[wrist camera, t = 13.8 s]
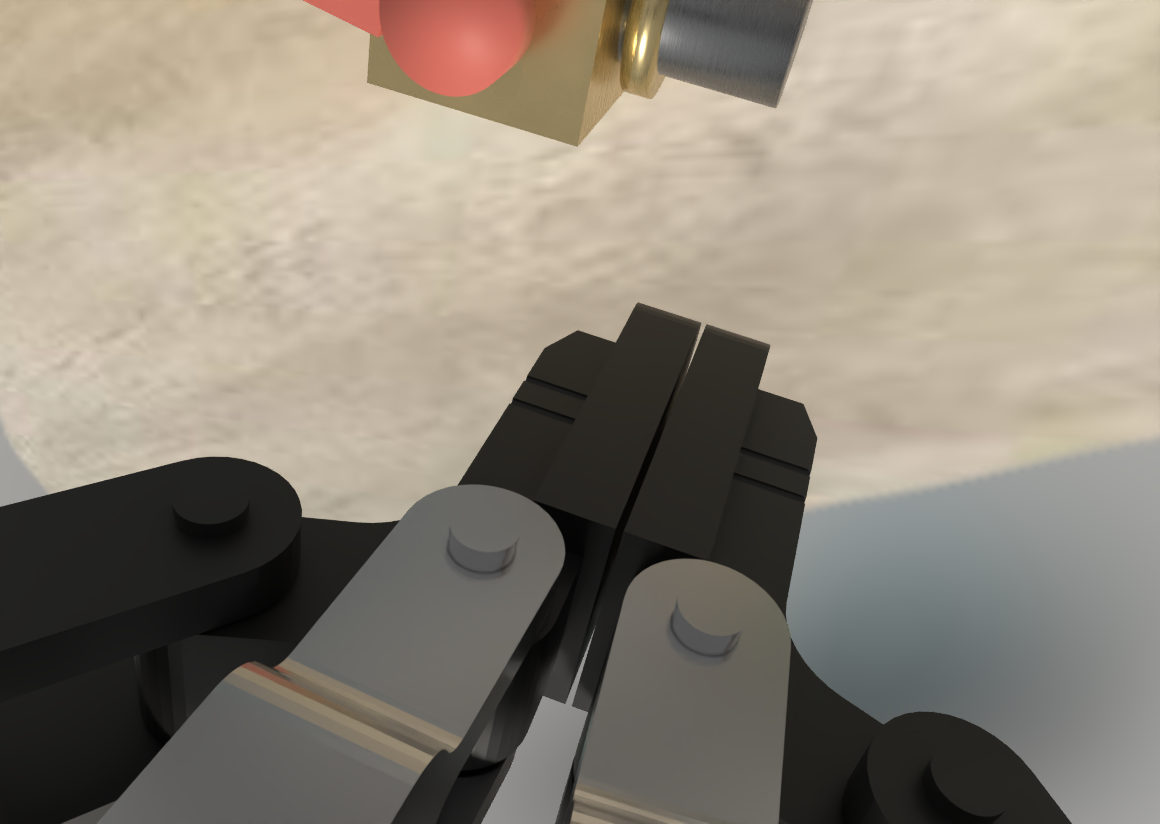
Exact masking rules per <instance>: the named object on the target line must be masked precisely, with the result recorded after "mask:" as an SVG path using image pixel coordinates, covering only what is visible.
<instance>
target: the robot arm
mask: <svg viewBox="0 0 1160 824" xmlns="http://www.w3.org/2000/svg"><path fill="white" fill-rule="evenodd" d="M700 326H701V323H700V322H697V321H694V320H691V319H688V318H685V317H682V316H679V315H676V314H672V313H669V312H666V311H663V310H660V309H657V308H654V307H651V306H648V305H644V304H641V303H637V304H636V306H635V308H634V309H633V311H632V313H631V315H630V317H629V319H628V321H627V323H626V324H625V326H624V328H623V330H622V332H621V334H620V336H619V338H618V340H617V341H616V343H615V342H612V341H609V340H606V339H603V338H600V337H597V336H593V335H590V334H587V333H584V332H581V331H576V332H574V333H572V334H570V335H568V336H566V337H565V338H563V339H561V340H559V341H557V342H555V343H553V344H551V345H550V346H548V347H546V348H544V350H543V352H542V353H541V355H540V356H539V358H538V360H537V361H536V363H535V364H534V366H533V367H532V369H531V371H530V372H529V374H528V375H527V379H526V381H524V382H523V383H522V385H521V386H520V388H519V389H518V391H517V393H516V394H515V396H514V397H513V400H512V403H511V404H509V405H508V407H507V408H506V410H505V411H504V413H503V415H502V416H501V418H500V419H499V421H498V423H497V424H496V426H495V427H494V429H493V430H492V432H491V434H490V435H489V437H488V438H487V440H486V441H485V443H484V445H483V446H482V448H481V449H480V451H479V452H478V454H477V456H476V457H475V459H474V460H473V462H472V463H471V465H470V467H469V468H468V470H467V471H466V473H465V475H464V476H463V478H462V479H461V481H460V482H459V484H458V486H452V487H448V488H444V489H441V490H437V491H435V492H433V493H431V494H429V495H426V496H425V497H423V498H422V499H420V500H419V501H418V502H416V503H415V504H414V505H413V506H412V507H411V508H410V509H409V510H408V511H407V513H406V514H405V515H404V516H403V517H402V519H401V520H398V521H392V522H383V523H358V522H347V521H337V520H326V519H316V518H305V517H302V508H301V504H300V500H299V497H298V495H297V493H296V491H295V490H294V489H293V487H292V486H291V485H290V484H289V482H288V481H287V480H285V479H284V478H283V477H282V476H281V475H279V474H278V473H276V472H275V471H273V470H271V469H269V468H268V467H265V466H263V465H260V464H258V463H255V462H251V461H247V460H244V459H238V458H231V457H203V458H195V459H189V460H184V461H180V462H176V463H172V464H168V465H164V466H160V467H156V468H152V469H148V470H144V471H140V472H136V473H132V474H128V475H125V476H121V477H117V478H113V479H109V480H105V481H101V482H97V483H93V484H89V485H85V486H81V487H77V488H73V489H69V490H65V491H61V492H57V493H53V494H49V495H46V496H42V497H38V498H34V499H30V500H26V501H22V502H18V503H14V504H10V505H6V506H3V507H0V824H481V823H482V821H483V819H484V817H485V815H486V814H487V812H488V810H489V808H490V806H491V804H492V802H493V800H494V798H495V796H496V794H497V792H498V791H499V788H500V787H501V785H502V783H503V781H504V779H505V777H506V775H507V773H508V771H509V769H510V767H511V765H512V762H513V760H514V757H515V753H516V749H517V747H518V746H519V745H520V744H521V743H522V741H523V740H524V738H525V736H526V734H527V732H528V730H529V727H530V725H531V723H532V720H533V718H534V715H535V713H536V711H537V708H538V706H539V703H540V701H541V699H542V696H545V697H548V698H551V699H553V700H556V701H559V702H561V703H564V704H565V703H566V701H567V698H568V695H569V693H570V690H571V687H572V685H573V683H574V680H575V677H576V675H577V672H578V670H579V667H580V665H581V662H582V659H583V657H584V654H585V652H586V649H587V646H588V644H589V641H590V639H591V636H592V634H593V631H594V634H593V637H592V641H591V644H590V647H589V650H588V654H587V657H586V660H585V664H584V667H583V671H582V674H581V677H580V681H579V684H578V688H577V691H576V694H575V698H574V702H573V705H572V706H573V707H576V708H578V709H581V710H584V711H587V712H588V715H587V718H586V721H585V725H584V728H583V731H582V734H581V737H580V740H579V743H578V747H577V750H576V754H575V757H574V759H573V763H572V766H571V769H570V772H569V775H568V779H567V782H566V785H565V788H564V792H563V796H562V799H561V803H560V807H559V811H558V814H557V818H556V822H555V824H1072V823H1071V822H1070V821H1069V819H1068V818H1067V817H1066V815H1065V814H1064V813H1063V811H1062V810H1061V809H1060V807H1059V806H1058V805H1057V804H1056V802H1055V801H1054V800H1053V799H1052V797H1051V796H1050V794H1049V793H1048V792H1047V790H1046V789H1045V788H1044V786H1043V785H1042V784H1041V783H1040V781H1039V780H1038V779H1037V777H1036V776H1035V775H1034V773H1033V772H1032V771H1031V770H1030V768H1028V766H1027V765H1026V764H1025V763H1024V761H1023V760H1022V759H1021V758H1020V757H1019V756H1018V755H1017V754H1015V753H1014V751H1012V750H1011V749H1010V748H1009V747H1008V746H1007V745H1006V744H1004V743H1003V742H1002V741H1000V740H999V739H998V738H996V737H995V736H993V735H992V734H990V733H989V732H987V731H985V730H984V729H982V728H980V727H979V726H976V725H974V724H972V723H970V722H968V721H965V720H963V719H960V718H957V717H954V716H951V715H947V714H941V713H935V712H914V713H907V714H903V715H901V716H898V717H895V718H893V719H892V720H890V721H889V722H887V723H886V724H884V725H883V724H881V723H880V722H879V721H877V720H876V719H874V718H873V717H871V716H870V715H868V714H867V713H865V712H864V711H862V710H860V709H859V708H858V707H856V706H855V705H853V704H852V703H850V702H849V701H847V700H846V699H844V698H843V697H841V696H840V695H839V694H837V693H836V692H834V691H833V690H832V689H831V688H829V687H828V686H827V685H826V684H825V683H824V682H823V681H822V680H820V679H819V678H818V677H817V676H816V675H815V673H814V672H813V671H812V670H811V669H810V668H809V667H808V666H807V664H806V663H805V662H804V660H803V659H802V657H801V655H800V654H799V652H798V651H797V649H796V647H795V645H794V643H793V641H792V639H791V636H790V632H789V628H788V624H787V620H786V602H787V597H788V592H789V586H790V581H791V576H792V570H793V565H794V559H795V555H796V548H797V544H798V539H799V533H800V528H801V523H802V517H803V512H804V506H805V503H804V502H805V499H806V496H807V490H808V485H809V480H810V476H809V475H810V472H811V469H812V464H813V458H814V453H815V448H816V442H817V436H816V434H815V431H814V429H813V426H812V424H811V421H810V419H809V417H808V414H807V412H806V409H805V407H804V404H802V403H799V402H796V401H793V400H790V399H787V398H784V397H781V396H777V395H774V394H771V393H768V392H765V391H762V390H759V389H758V387H759V384H760V380H761V377H762V373H763V370H764V366H765V363H766V359H767V356H768V352H769V349H770V344H766V343H763V342H760V341H757V340H754V339H751V338H748V337H745V336H742V335H738V334H735V333H732V332H729V331H726V330H723V329H720V328H717V327H714V326H710V325H706V327H705V329H704V332H703V334H702V337H701V339H700V342H699V344H698V347H697V349H696V352H695V354H694V357H693V359H692V362H691V364H690V360H691V357H692V354H693V351H694V347H695V344H696V341H697V337H698V334H699V330H700ZM689 364H690V367H689ZM688 367H689V369H688ZM687 370H688V372H687ZM686 373H687V374H686ZM595 626H596V627H595ZM594 629H595V630H594Z"/></svg>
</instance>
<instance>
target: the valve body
mask: <svg viewBox="0 0 1160 824" xmlns="http://www.w3.org/2000/svg"><path fill="white" fill-rule="evenodd" d="M812 2H813V0H534V4H535V27H534V32H533V36H532V40H531V42H530V44H529V47H528V49H527V50H526V52H525V54H524V55H523V57H522V58H521V59H520V60H519V61H518V62H517V63H516V64H515V65H514V66H513V67H512V68H511V69H510V70H508V71H507V72H506V73H505V74H504V75H502V76H501V77H500V78H499V79H498V80H496V81H495V82H494V83H493V84H491V85H490V86H489V87H487V88H486V89H484V90H482V91H480V92H478V93H475V94H472V95H468V96H462V97H452V96H444V95H441V94H437V93H434V92H432V91H429V90H427V89H425V88H424V87H422V86H420V85H419V84H417V83H416V82H415V81H413V80H412V79H411V78H410V77H409V76H408V75H406V74H405V73H404V71H403V70H402V69H401V68H400V67H399V66H398V64H397V63H396V61H395V60H394V58H393V57H392V55H391V53H390V51H389V50H388V47H387V45H386V43H385V40H384V37H383V35H382V36H380V37H376V36H374V35H372V34H370V47H369V63H368V78H367V83H370V84H373V85H377V86H380V87H383V88H387V89H390V90H393V91H396V92H400V93H403V94H406V95H410V96H413V97H416V98H419V99H423V100H426V101H429V102H433V103H436V104H439V105H442V106H446V107H449V108H452V109H456V110H459V111H462V112H465V113H469V114H472V115H475V116H479V117H482V118H485V119H488V120H492V121H495V122H498V123H502V124H505V125H508V126H511V127H515V128H518V129H521V130H525V131H528V132H531V133H534V134H538V135H541V136H544V137H548V138H551V139H554V140H557V141H561V142H564V143H567V144H571V145H574V146H577V147H578V145H579V144H580V143H581V142H582V141H583V140H584V138H585V137H586V136H587V135H588V134H589V132H590V131H591V130H592V129H593V128H594V127H595V125H596V124H597V123H598V122H599V121H600V119H601V118H602V117H603V116H604V115H605V114H606V112H607V111H608V110H609V109H610V108H611V106H612V105H613V104H614V103H615V102H616V100H617V99H618V98H619V97H620V96H621V95H622V93H623V92H628V93H631V94H634V95H638V96H641V97H645V98H648V99H652V98H653V97H654V96H655V95H656V93H657V92H658V90H659V88H660V86H661V84H662V82H663V80H664V78H665V76H667V77H670V78H674V79H677V80H680V81H684V82H687V83H691V84H694V85H698V86H701V87H704V88H708V89H711V90H715V91H718V92H721V93H725V94H728V95H732V96H735V97H739V98H742V99H745V100H749V101H752V102H756V103H759V104H763V105H766V106H769V107H773V108H777V106H778V103H779V101H780V98H781V96H782V93H783V90H784V87H785V85H786V82H787V79H788V76H789V73H790V70H791V67H792V64H793V61H794V58H795V55H796V52H797V49H798V46H799V43H800V40H801V37H802V34H803V31H804V28H805V24H806V21H807V18H808V15H809V12H810V8H811V5H812Z"/></svg>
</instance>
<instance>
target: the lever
mask: <svg viewBox="0 0 1160 824" xmlns="http://www.w3.org/2000/svg"><path fill="white" fill-rule="evenodd" d="M303 1H305V2H307V3H310V4H312V5H314V6H316V7H318V8H320V9H322V10H324V11H326V12H328V13H330V14H332V15H334V16H336V17H338V18H340V19H342V20H344V21H346V22H348V23H350V24H352V25H354V26H356V27H358V28H360V29H362V30H364V31H366V32H368V33H370V34H372V35H374V36H376V37H380V36H382V35H383V37H384V40H385V43H386V45H387V47H388V50H389V51H390V53H391V55H392V57H393V58H394V60H395V61H396V63H397V64H398V66H399V67H400V68H401V69H402V70H403V71H404V73H405V74H406V75H408V76H409V77H410V78H411V79H412V80H413V81H415V82H416V83H417V84H419V85H420V86H422V87H424V88H425V89H427V90H429V91H432V92H434V93H437V94H441V95H444V96H452V97H462V96H468V95H472V94H475V93H478V92H480V91H482V90H484V89H486V88H487V87H489V86H490V85H491V84H493V83H494V82H495V81H496V80H498V79H499V78H500V77H501V76H502V75H504V74H505V73H506V72H507V71H508V70H510V69H511V68H512V67H513V66H514V65H515V64H516V63H517V62H518V61H519V60H520V59H521V58H522V57H523V55H524V54H525V52H526V50H527V49H528V47H529V44H530V42H531V40H532V36H533V32H534V27H535V4H534V0H303Z"/></svg>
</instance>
